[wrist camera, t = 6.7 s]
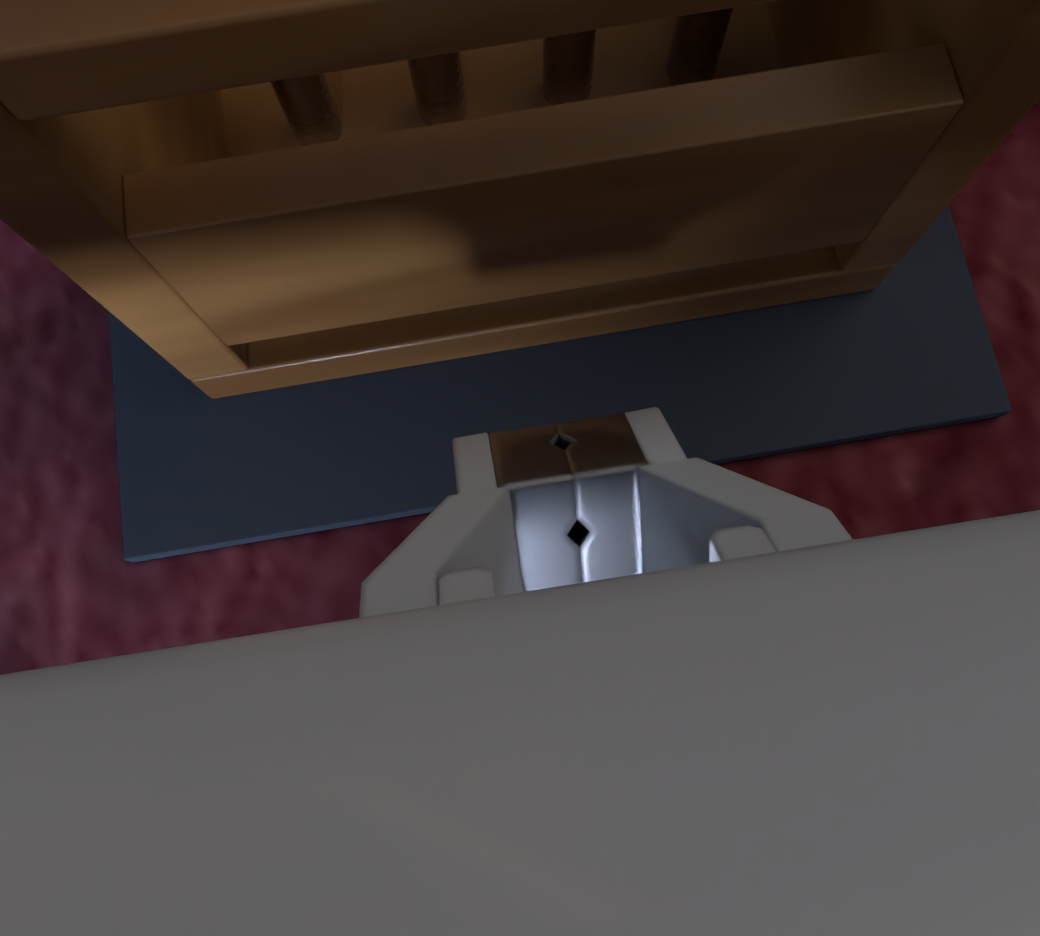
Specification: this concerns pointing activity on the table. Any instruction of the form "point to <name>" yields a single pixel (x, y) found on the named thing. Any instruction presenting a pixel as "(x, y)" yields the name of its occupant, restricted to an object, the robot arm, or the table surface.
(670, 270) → the rack
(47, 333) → the table surface
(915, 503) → the table surface
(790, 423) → the runner mat
